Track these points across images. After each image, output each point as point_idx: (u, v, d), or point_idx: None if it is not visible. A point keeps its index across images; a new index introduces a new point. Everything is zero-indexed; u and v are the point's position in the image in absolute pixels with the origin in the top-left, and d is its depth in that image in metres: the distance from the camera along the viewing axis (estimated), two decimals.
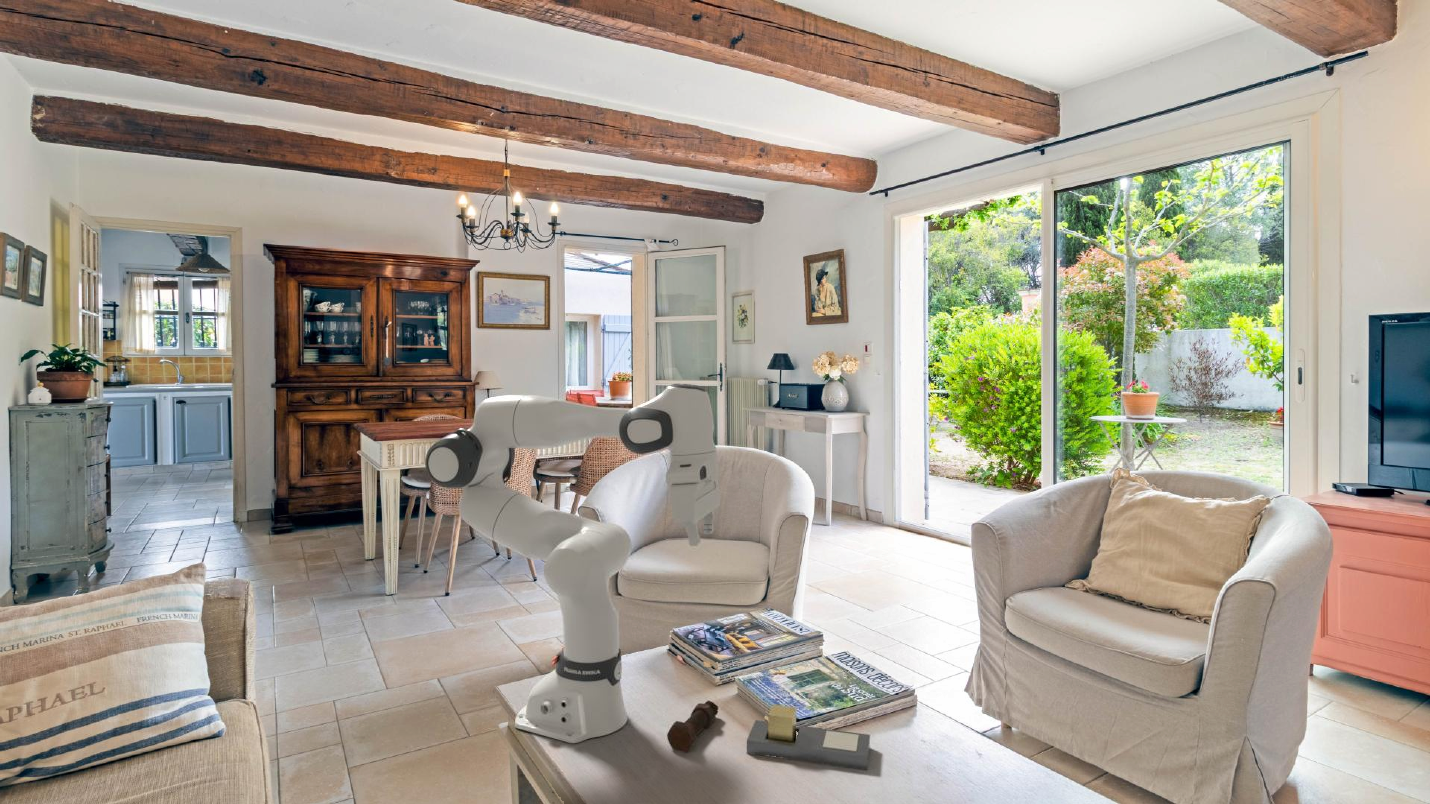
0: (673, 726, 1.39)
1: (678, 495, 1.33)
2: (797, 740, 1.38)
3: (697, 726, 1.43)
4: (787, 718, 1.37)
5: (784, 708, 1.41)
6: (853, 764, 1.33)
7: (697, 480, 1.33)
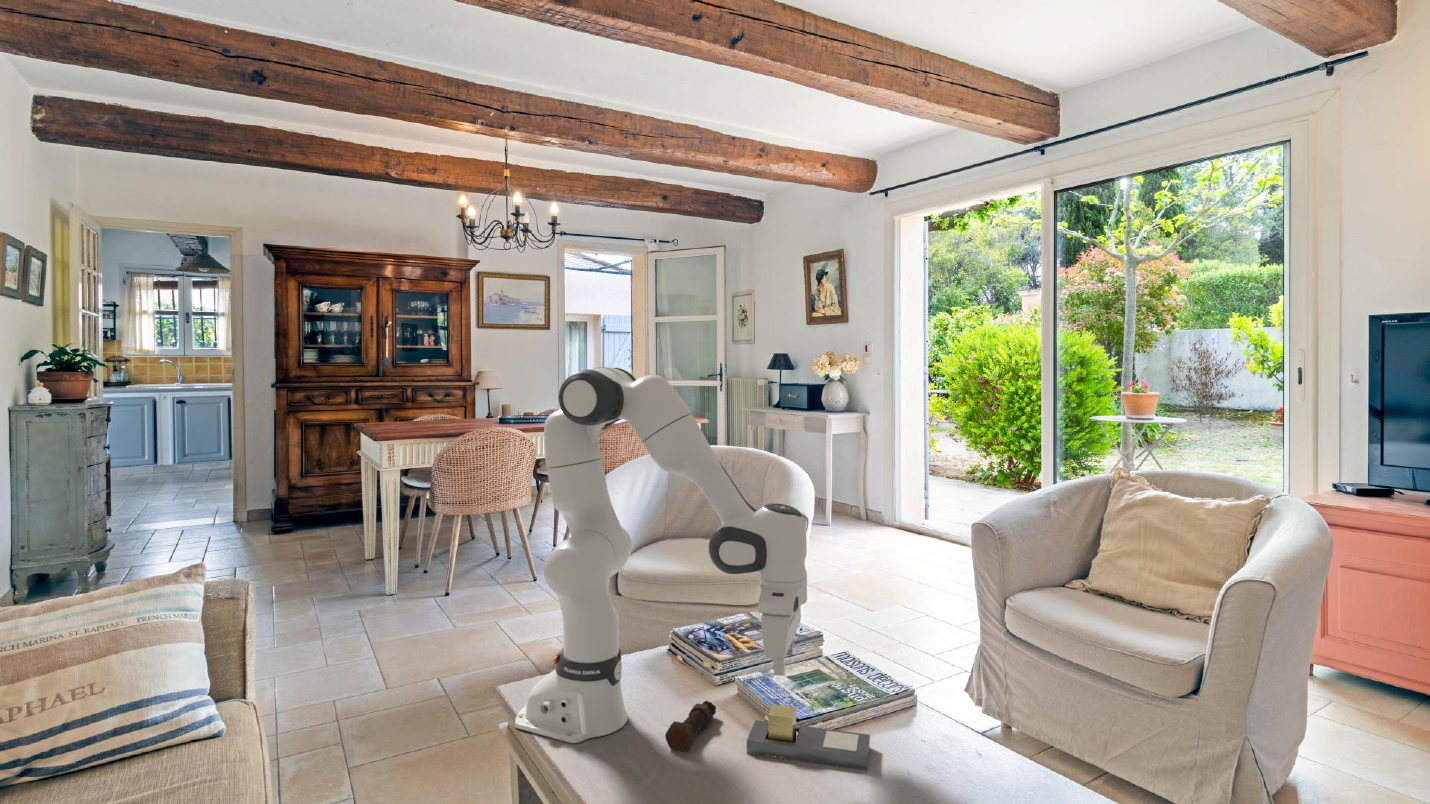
0: (671, 726, 1.39)
1: (770, 628, 1.30)
2: (797, 740, 1.38)
3: (695, 726, 1.42)
4: (787, 718, 1.37)
5: (784, 708, 1.41)
6: (853, 764, 1.33)
7: (791, 614, 1.30)
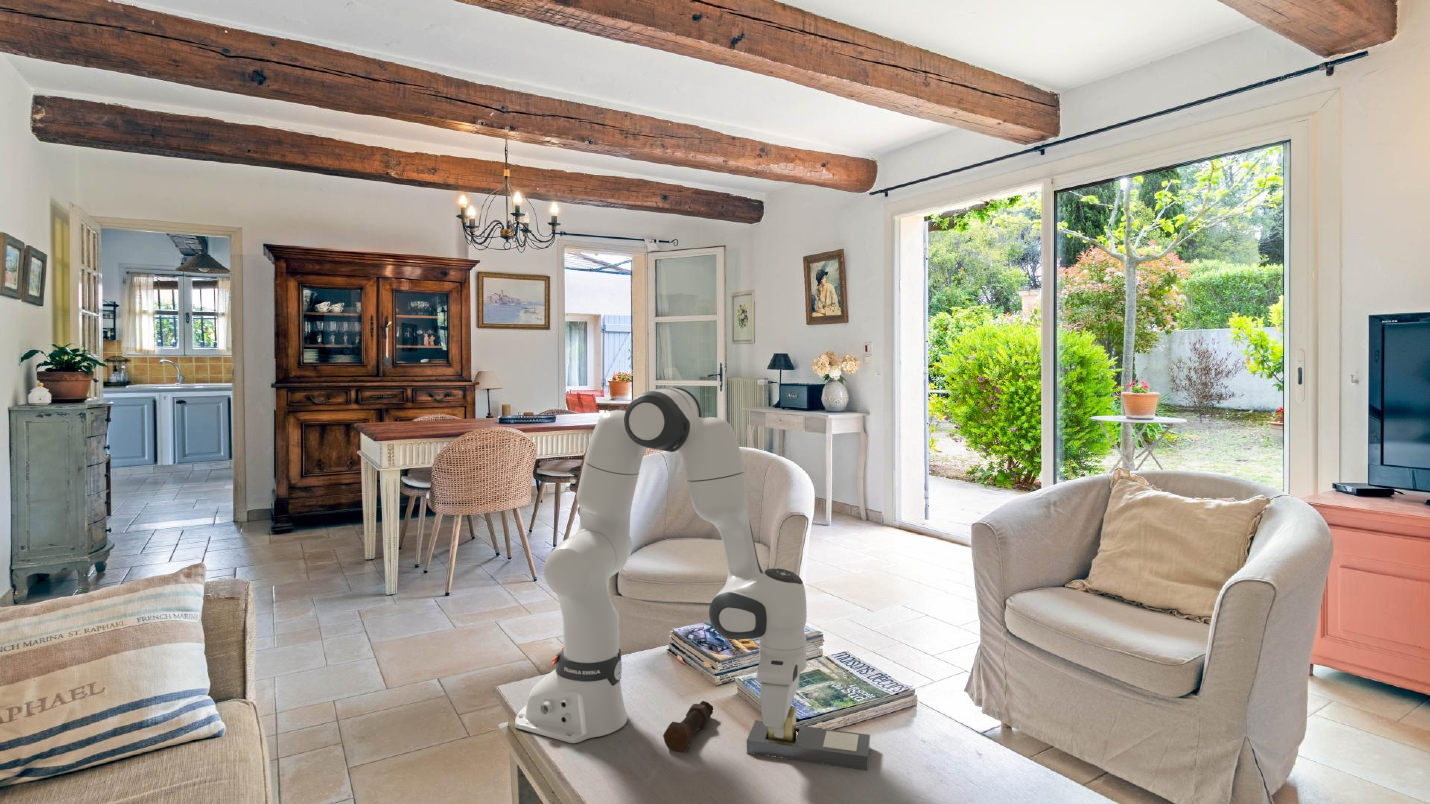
0: (669, 727, 1.39)
1: (769, 697, 1.30)
2: (797, 740, 1.38)
3: (693, 726, 1.42)
4: (787, 717, 1.37)
5: None
6: (853, 764, 1.33)
7: (790, 684, 1.31)
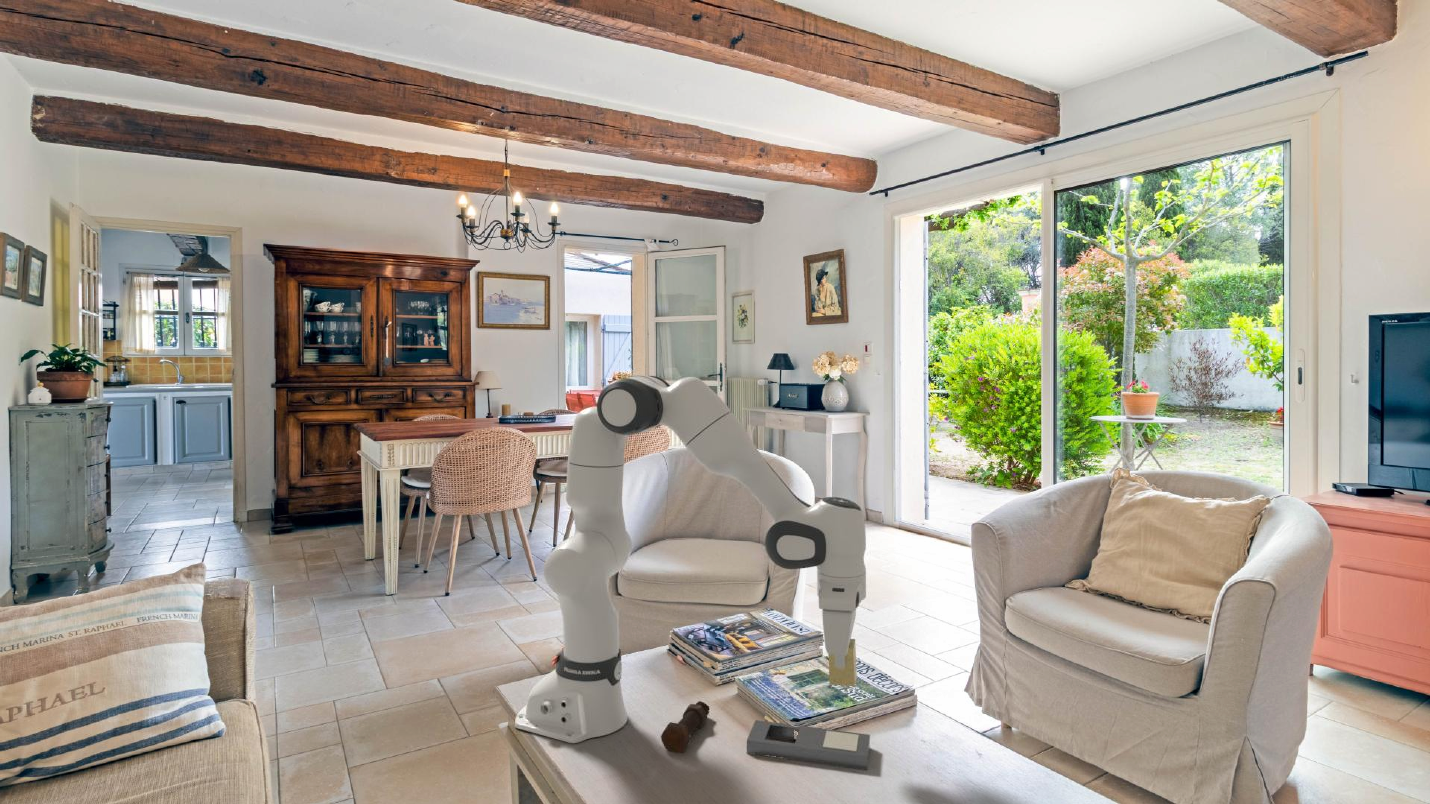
0: (667, 727, 1.39)
1: (832, 624, 1.27)
2: (797, 740, 1.38)
3: (690, 727, 1.42)
4: (848, 648, 1.34)
5: None
6: (853, 764, 1.33)
7: (853, 609, 1.27)
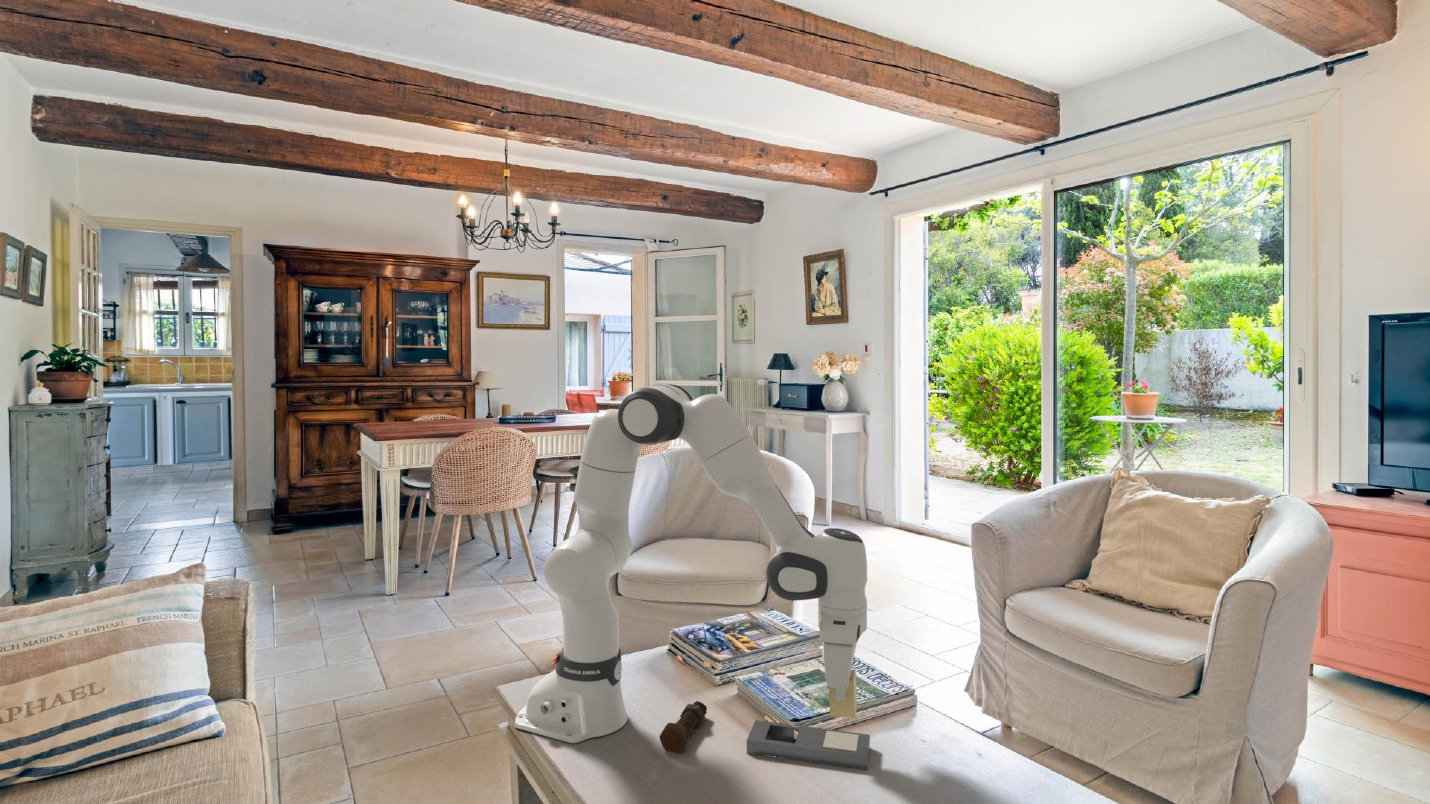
0: (666, 728, 1.39)
1: (833, 657, 1.27)
2: (797, 740, 1.38)
3: (689, 727, 1.42)
4: None
5: None
6: (853, 764, 1.33)
7: (854, 643, 1.27)
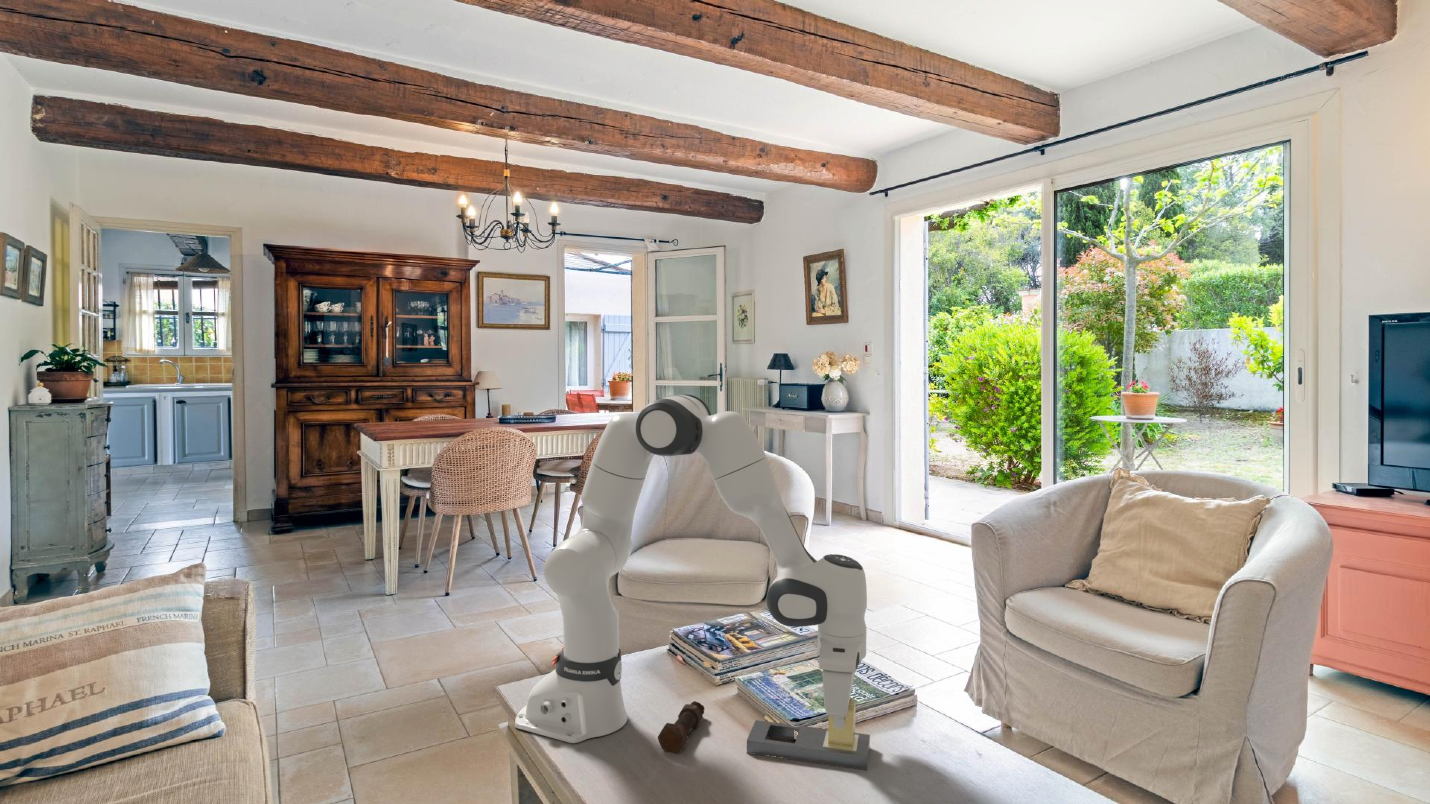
0: (664, 728, 1.39)
1: (832, 685, 1.27)
2: (797, 740, 1.38)
3: (687, 727, 1.42)
4: (848, 711, 1.34)
5: None
6: (853, 764, 1.33)
7: (853, 671, 1.28)
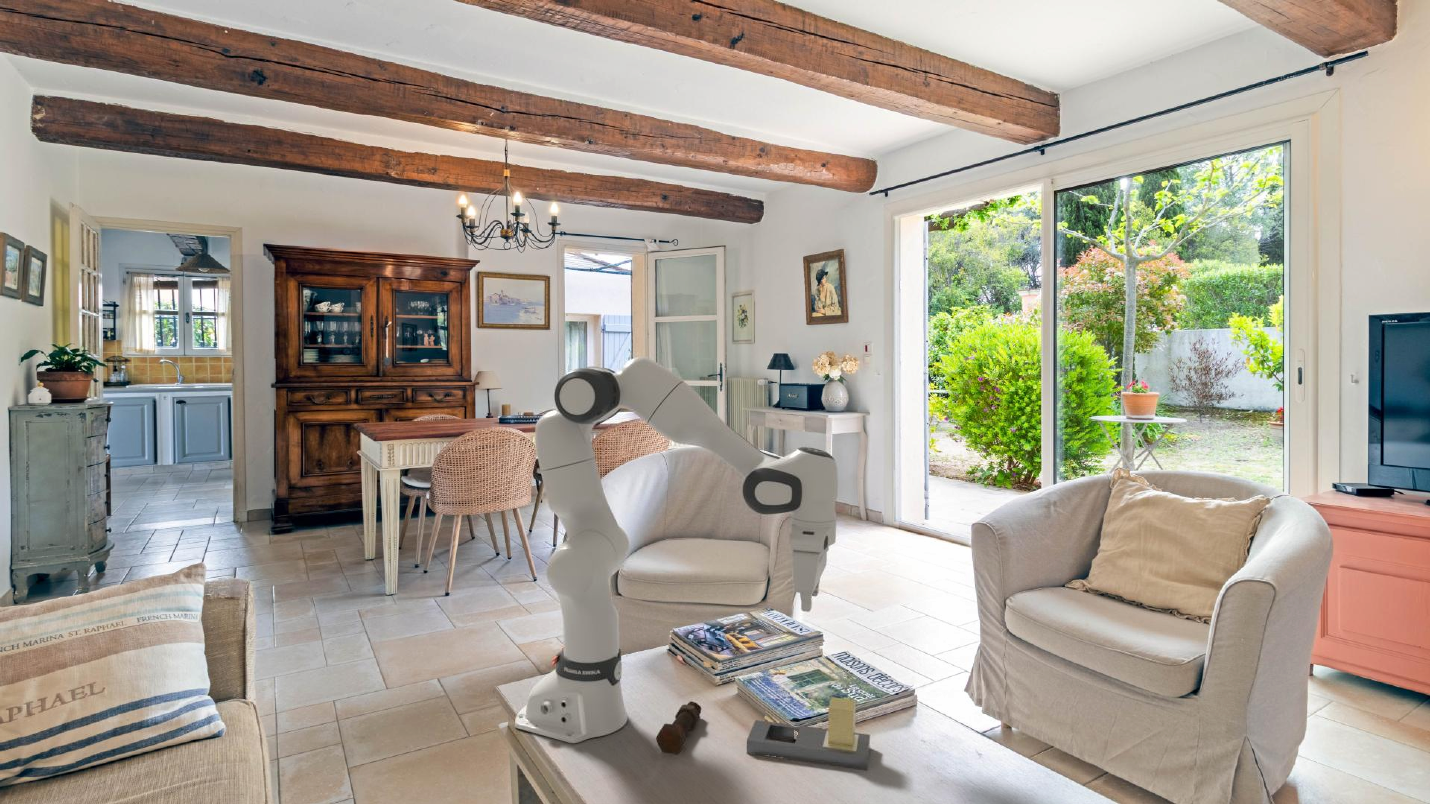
0: (662, 729, 1.38)
1: (800, 563, 1.34)
2: (797, 740, 1.38)
3: (685, 727, 1.42)
4: (848, 711, 1.34)
5: (844, 701, 1.38)
6: (853, 764, 1.33)
7: (821, 551, 1.34)
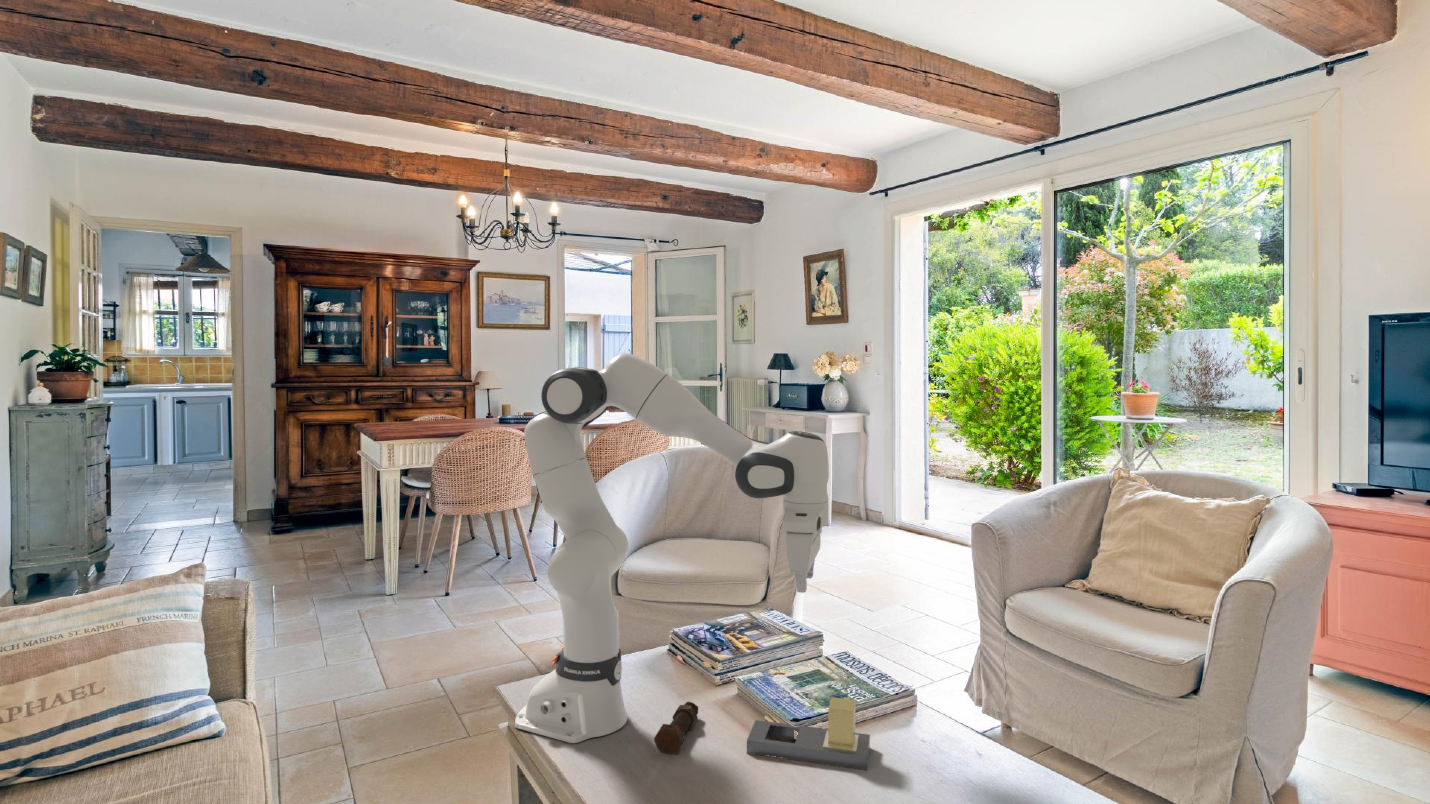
0: (661, 729, 1.38)
1: (794, 544, 1.36)
2: (797, 740, 1.38)
3: (683, 727, 1.42)
4: (848, 711, 1.34)
5: (844, 701, 1.38)
6: (853, 764, 1.33)
7: (814, 531, 1.36)
